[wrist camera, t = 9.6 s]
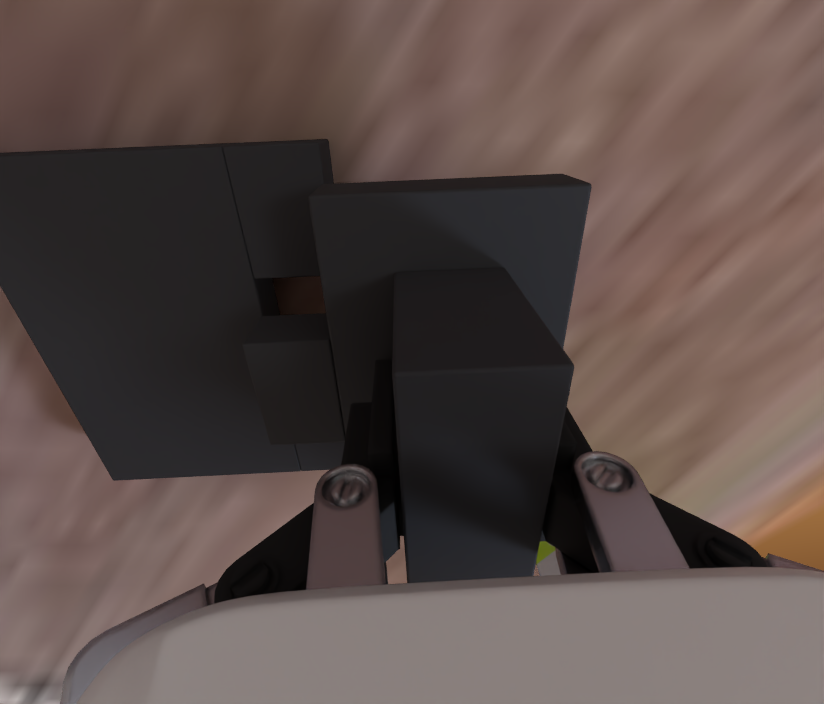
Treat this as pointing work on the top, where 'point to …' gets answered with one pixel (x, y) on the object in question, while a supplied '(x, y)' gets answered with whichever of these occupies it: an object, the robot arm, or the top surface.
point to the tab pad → (360, 286)
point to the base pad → (162, 292)
